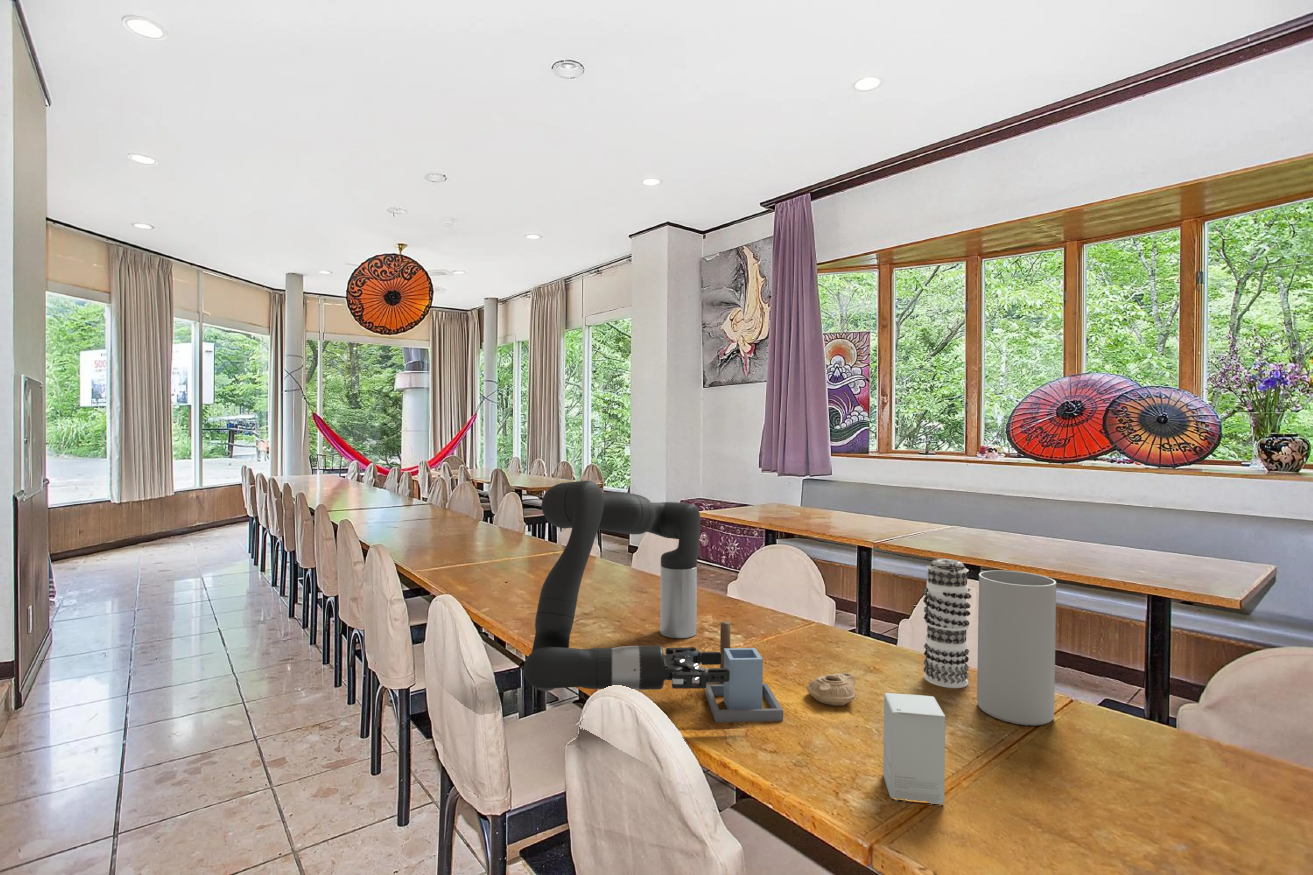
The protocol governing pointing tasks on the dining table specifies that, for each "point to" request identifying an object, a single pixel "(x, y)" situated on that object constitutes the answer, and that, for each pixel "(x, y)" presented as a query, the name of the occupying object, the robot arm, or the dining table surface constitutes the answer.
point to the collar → (743, 678)
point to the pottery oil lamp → (833, 689)
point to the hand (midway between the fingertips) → (724, 666)
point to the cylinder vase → (1016, 646)
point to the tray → (744, 714)
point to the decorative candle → (946, 624)
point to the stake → (723, 644)
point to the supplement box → (914, 748)
